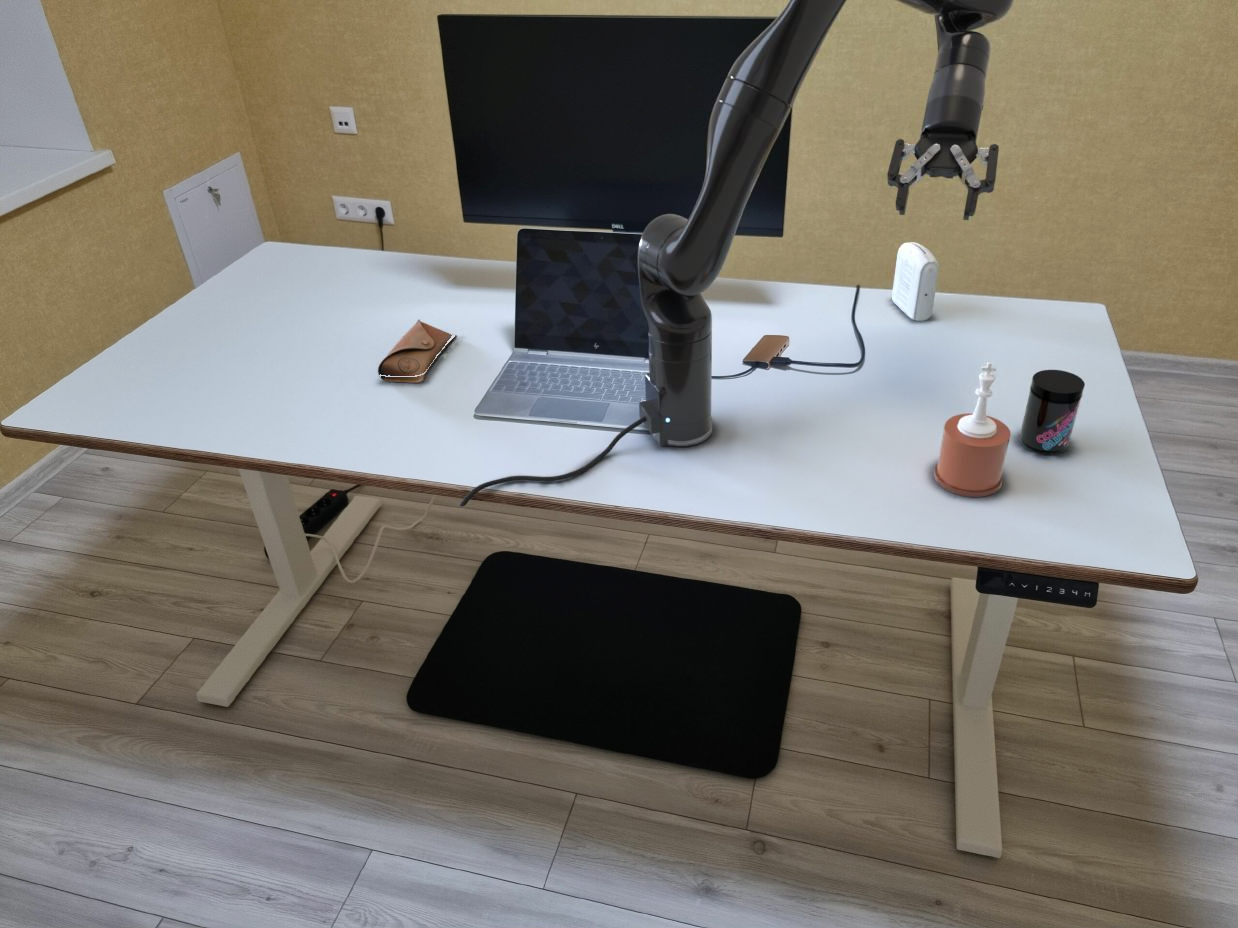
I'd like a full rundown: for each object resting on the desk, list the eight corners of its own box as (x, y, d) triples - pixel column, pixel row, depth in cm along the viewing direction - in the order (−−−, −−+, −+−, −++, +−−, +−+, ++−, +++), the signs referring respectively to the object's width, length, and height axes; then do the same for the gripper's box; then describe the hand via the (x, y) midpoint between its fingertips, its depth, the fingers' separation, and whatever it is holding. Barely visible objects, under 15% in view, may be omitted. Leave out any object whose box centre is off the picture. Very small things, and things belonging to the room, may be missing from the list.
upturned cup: (959, 503, 124) (969, 454, 120) (920, 468, 131) (928, 420, 127) (1016, 488, 126) (1027, 439, 122) (974, 454, 133) (984, 406, 129)
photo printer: (934, 319, 169) (944, 255, 162) (912, 323, 168) (921, 258, 161) (909, 297, 177) (917, 235, 170) (888, 300, 177) (895, 238, 170)
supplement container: (1021, 455, 133) (1036, 392, 127) (1014, 429, 138) (1028, 368, 132) (1072, 458, 131) (1089, 394, 125) (1063, 432, 137) (1079, 370, 131)
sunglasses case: (425, 381, 158) (400, 350, 156) (395, 397, 162) (371, 368, 159) (459, 334, 173) (437, 305, 170) (432, 350, 176) (410, 322, 173)
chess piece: (998, 439, 122) (1013, 373, 116) (959, 437, 123) (971, 371, 117) (993, 420, 126) (1007, 354, 120) (955, 417, 127) (967, 353, 121)
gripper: (901, 91, 129) (880, 199, 127) (1010, 94, 124) (990, 207, 122) (901, 120, 136) (881, 223, 134) (1005, 125, 131) (986, 231, 129)
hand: (933, 215), depth 128 cm, fingers open, 8 cm apart
